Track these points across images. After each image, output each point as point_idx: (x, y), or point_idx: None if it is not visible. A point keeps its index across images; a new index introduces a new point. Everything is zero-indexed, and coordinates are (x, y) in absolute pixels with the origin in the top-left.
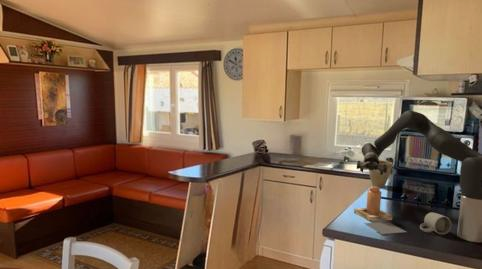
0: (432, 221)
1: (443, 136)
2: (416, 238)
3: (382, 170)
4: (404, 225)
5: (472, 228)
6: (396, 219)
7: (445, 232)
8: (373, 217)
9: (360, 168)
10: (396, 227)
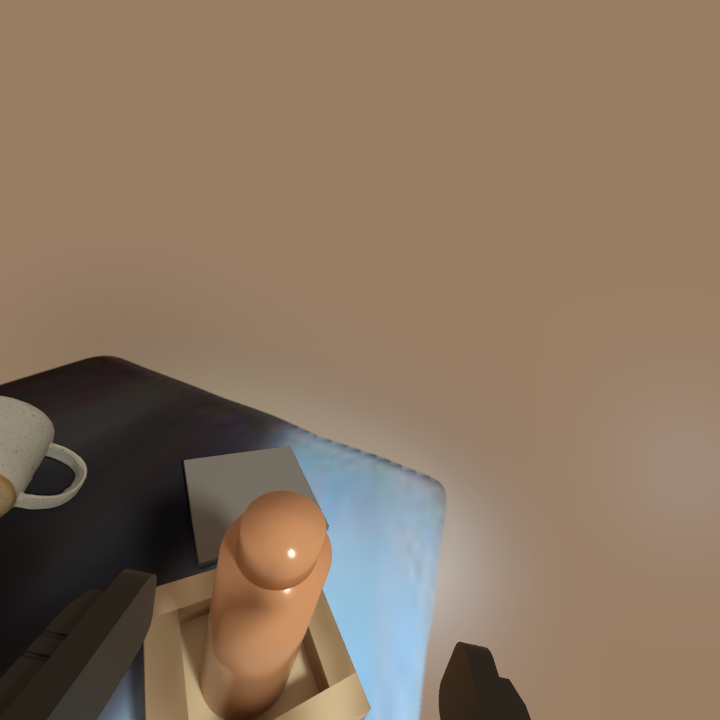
0: (42, 432)
1: None
2: (177, 433)
3: (50, 652)
4: (115, 546)
5: None
6: None
7: None
8: None
9: (521, 710)
10: (199, 496)
